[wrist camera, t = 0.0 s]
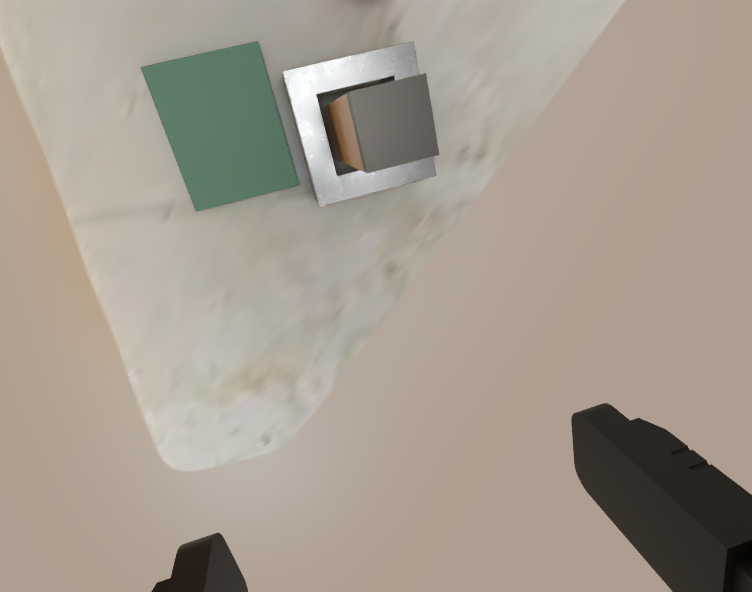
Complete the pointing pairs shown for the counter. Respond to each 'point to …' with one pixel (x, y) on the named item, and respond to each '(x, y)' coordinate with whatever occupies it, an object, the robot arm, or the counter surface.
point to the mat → (222, 124)
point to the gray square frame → (311, 131)
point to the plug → (383, 125)
